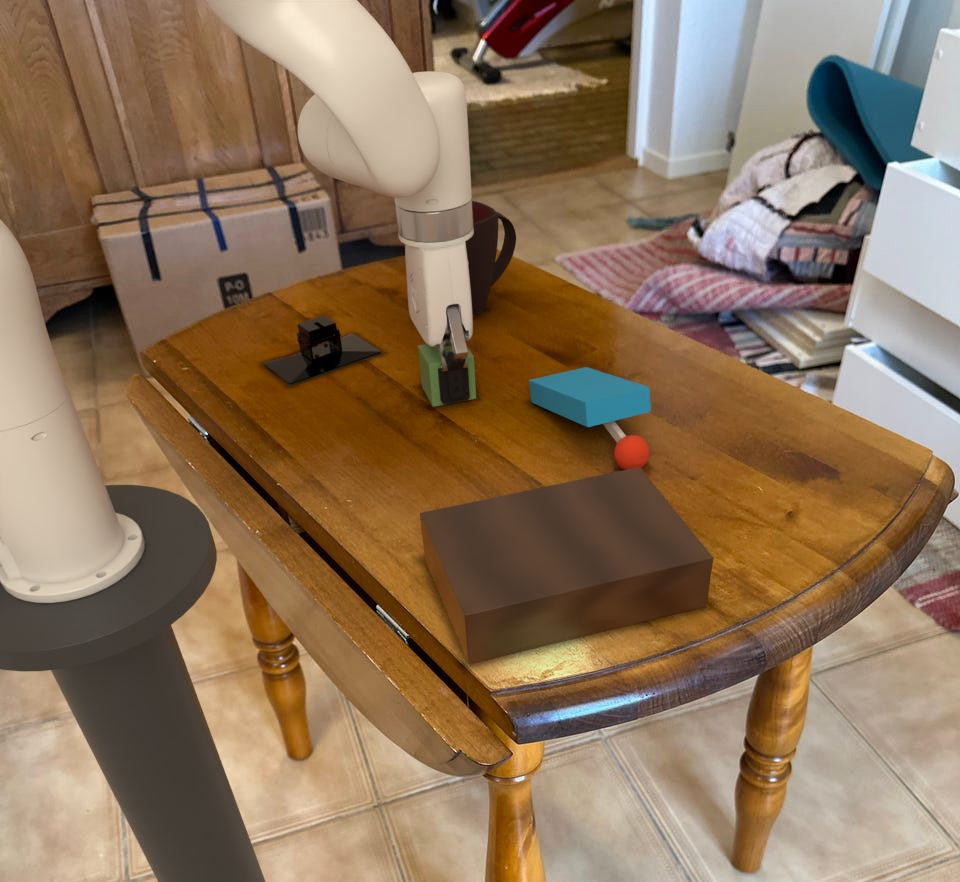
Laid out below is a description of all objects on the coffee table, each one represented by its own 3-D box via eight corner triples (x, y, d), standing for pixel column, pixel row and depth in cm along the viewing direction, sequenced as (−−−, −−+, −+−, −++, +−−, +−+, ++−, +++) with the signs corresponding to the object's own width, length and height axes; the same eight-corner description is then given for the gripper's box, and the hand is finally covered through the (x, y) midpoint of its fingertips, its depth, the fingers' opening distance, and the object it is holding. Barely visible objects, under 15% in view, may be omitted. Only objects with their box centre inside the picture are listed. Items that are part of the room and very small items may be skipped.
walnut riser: (468, 664, 71) (464, 615, 68) (424, 560, 81) (419, 512, 78) (706, 607, 75) (713, 557, 71) (636, 513, 85) (639, 466, 81)
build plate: (290, 387, 107) (282, 349, 104) (262, 366, 112) (254, 329, 109) (381, 353, 112) (376, 316, 109) (351, 334, 117) (345, 298, 114)
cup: (406, 309, 121) (396, 213, 113) (491, 281, 127) (487, 187, 119) (449, 333, 115) (441, 233, 107) (536, 302, 121) (535, 205, 113)
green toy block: (432, 407, 102) (428, 364, 98) (421, 387, 105) (417, 345, 102) (476, 398, 102) (473, 356, 99) (464, 379, 106) (461, 337, 103)
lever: (536, 443, 103) (609, 482, 88) (528, 380, 100) (602, 409, 85) (592, 429, 105) (673, 465, 89) (586, 366, 102) (669, 393, 86)
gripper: (380, 199, 97) (399, 363, 109) (418, 254, 85) (435, 431, 97) (449, 189, 98) (460, 352, 110) (496, 242, 86) (503, 418, 98)
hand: (448, 387), depth 103 cm, fingers closed on green toy block, 5 cm apart
